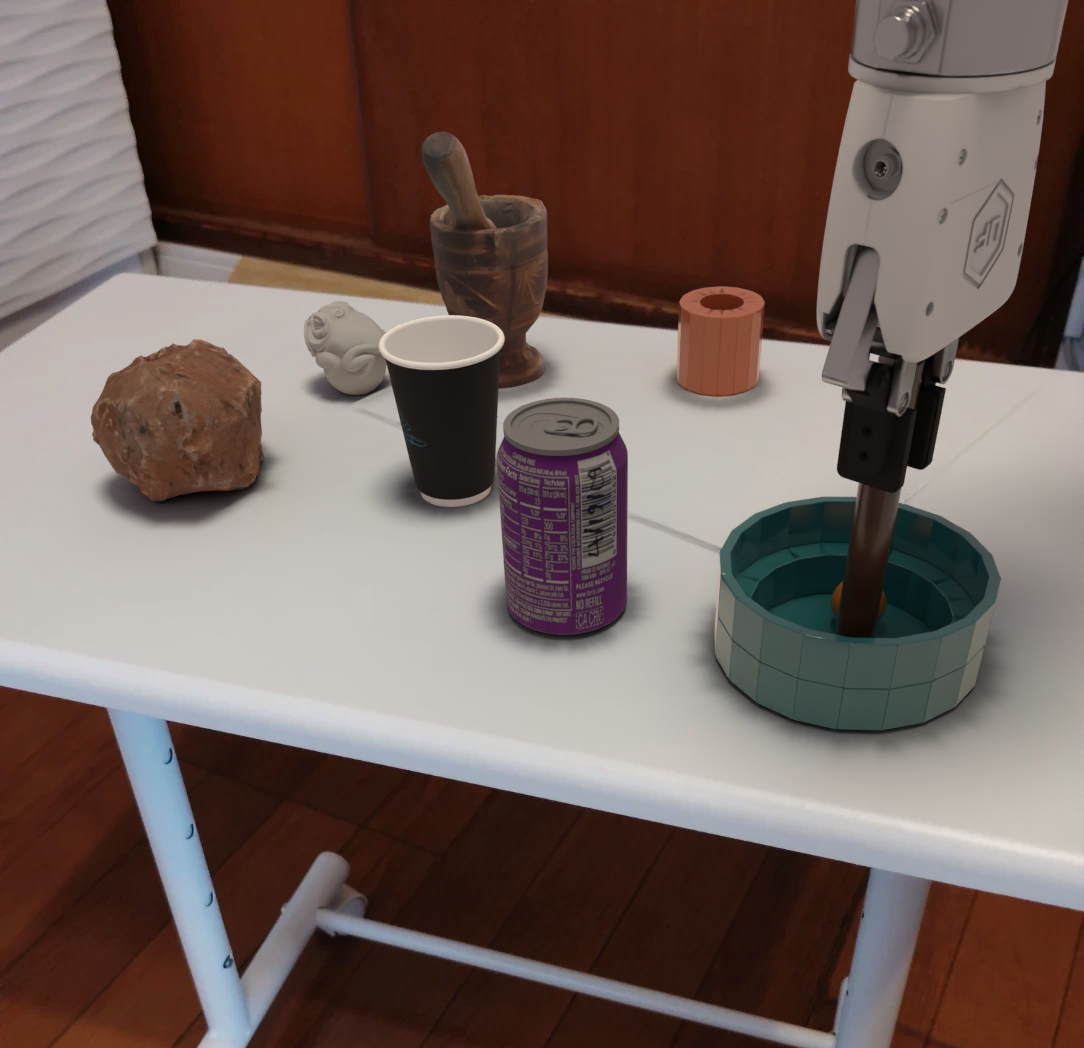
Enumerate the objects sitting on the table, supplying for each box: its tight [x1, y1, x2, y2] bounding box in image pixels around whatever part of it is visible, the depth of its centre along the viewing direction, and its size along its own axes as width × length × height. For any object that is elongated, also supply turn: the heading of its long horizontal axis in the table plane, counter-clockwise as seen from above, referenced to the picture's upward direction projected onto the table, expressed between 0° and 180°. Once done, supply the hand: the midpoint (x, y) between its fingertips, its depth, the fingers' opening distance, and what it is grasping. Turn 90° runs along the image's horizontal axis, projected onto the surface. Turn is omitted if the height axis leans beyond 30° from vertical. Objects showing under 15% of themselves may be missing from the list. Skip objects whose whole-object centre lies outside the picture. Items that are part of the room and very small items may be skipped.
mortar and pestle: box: [421, 131, 549, 390], centre depth 88 cm, size 12×9×20 cm
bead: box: [831, 582, 886, 623], centre depth 66 cm, size 3×3×3 cm
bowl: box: [713, 496, 1002, 731], centre depth 64 cm, size 14×14×6 cm
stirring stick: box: [835, 355, 925, 638], centre depth 58 cm, size 2×2×16 cm
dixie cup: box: [379, 314, 505, 508], centre depth 78 cm, size 8×8×11 cm
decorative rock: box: [90, 338, 265, 502], centre depth 81 cm, size 13×11×10 cm
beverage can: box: [496, 397, 629, 635], centre depth 66 cm, size 7×7×12 cm
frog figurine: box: [303, 300, 388, 396], centre depth 93 cm, size 6×7×7 cm
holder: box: [676, 285, 766, 397], centre depth 90 cm, size 6×6×7 cm
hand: (883, 468), depth 56 cm, fingers closed on stirring stick, 2 cm apart
